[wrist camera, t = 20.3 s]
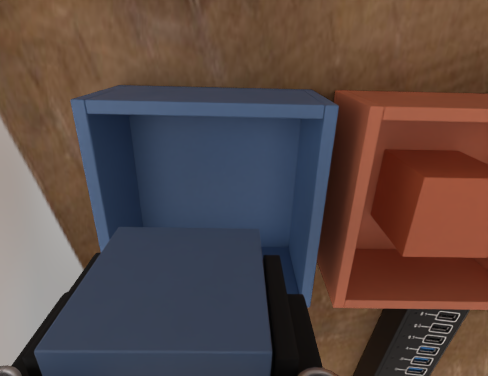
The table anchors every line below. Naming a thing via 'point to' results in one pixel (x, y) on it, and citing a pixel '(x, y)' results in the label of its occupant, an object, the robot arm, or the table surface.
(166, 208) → the blue bin
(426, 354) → the multiport hub
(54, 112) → the table surface
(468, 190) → the terracotta block
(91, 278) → the blue block
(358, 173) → the terracotta bin
